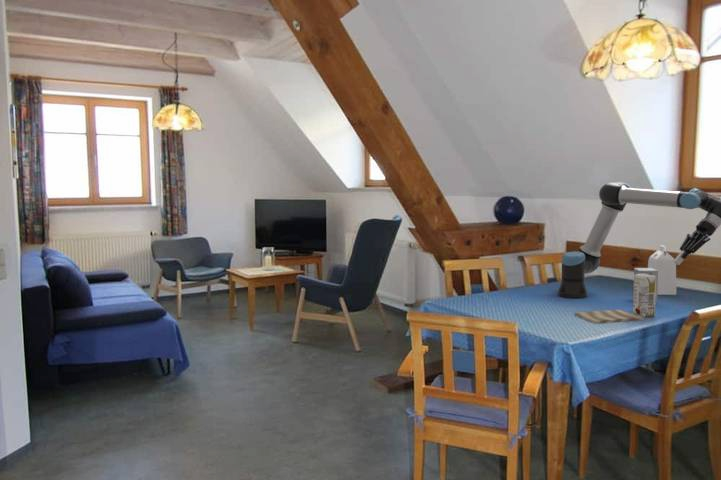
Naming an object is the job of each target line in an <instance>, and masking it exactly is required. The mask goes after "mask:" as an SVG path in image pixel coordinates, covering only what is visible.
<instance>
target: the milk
mask: <svg viewBox="0 0 721 480" xmlns="http://www.w3.org/2000/svg"><path fill="white" fill-rule="evenodd" d="M674 259H675V258H674V257H673V256H672V255H671V254H670V253H669V252H667V246H666V245H662V244H659V246H658V250H656V251H655V252H654V253H652V254H651V255H650V256H649V258H648V261H647V268H653V269H655V270H657V271H658V289H657V296H658V295H661V296H662V295H663V296H670V295H671V296H677V264H676V263H675V262H674Z"/></svg>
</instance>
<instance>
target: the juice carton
mask: <svg viewBox="0 0 721 480" xmlns="http://www.w3.org/2000/svg"><path fill="white" fill-rule="evenodd" d="M633 289H634V295H633V294H632V295H633V296H632V297H633V298H632V299H633V300H632V301H633V302H632V314H635V315H638V316H641V317H644V318H652V317H655V314H656V303H655V297H656V276H654V275H648V274H634V273H633Z"/></svg>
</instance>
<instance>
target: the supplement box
mask: <svg viewBox="0 0 721 480" xmlns="http://www.w3.org/2000/svg"><path fill="white" fill-rule="evenodd" d="M634 274H648V275H654V276H656V297H655V304H657V303H658V295H657V289H658V271H657V270H655V269H653V268H648V267H634V269H633V275H634ZM632 295H634V288H633V294H632Z"/></svg>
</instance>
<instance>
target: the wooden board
mask: <svg viewBox="0 0 721 480" xmlns="http://www.w3.org/2000/svg"><path fill="white" fill-rule="evenodd" d="M576 315H577V316H576ZM574 316H576V317H578V316H579V318H581V319H583V318H584V319H583V320H585V319H586V321H588V320H589V321H588V322H590V321H591V322H590V323H593V322H594V323H593V324H595V323H597V324H607V323H608V322H611V323H621V322H622V323H623V322H637V321H644V320H645V317H641V316H638V315H635V314H633V312H629V311H627V310H623V309H612V310H611V309H610V310H609V309H608V310H595V311H580V312H579V311H578V312H577V311H576V312H574ZM608 324H609V323H608Z"/></svg>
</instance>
